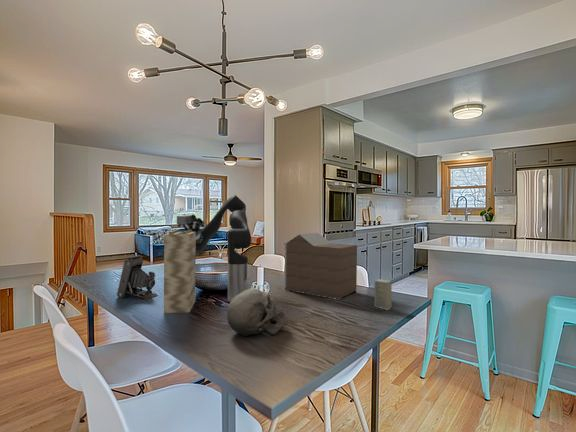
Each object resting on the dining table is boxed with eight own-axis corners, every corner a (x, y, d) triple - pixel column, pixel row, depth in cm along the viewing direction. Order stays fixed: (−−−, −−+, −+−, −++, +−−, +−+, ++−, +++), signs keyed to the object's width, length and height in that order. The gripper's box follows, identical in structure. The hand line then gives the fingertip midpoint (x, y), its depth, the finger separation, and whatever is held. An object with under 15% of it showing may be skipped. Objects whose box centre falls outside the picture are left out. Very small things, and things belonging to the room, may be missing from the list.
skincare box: (391, 308, 138) (392, 280, 138) (387, 311, 135) (387, 282, 135) (378, 305, 142) (378, 278, 142) (373, 307, 139) (374, 280, 139)
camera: (144, 308, 146) (155, 266, 145) (113, 296, 149) (124, 255, 148) (158, 301, 157) (168, 263, 156) (129, 291, 160) (139, 253, 159)
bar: (194, 221, 163) (194, 214, 162) (185, 224, 137) (185, 216, 137) (187, 221, 162) (187, 214, 162) (176, 224, 136) (176, 216, 136)
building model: (301, 283, 186) (302, 231, 185) (356, 292, 166) (357, 234, 165) (282, 289, 170) (283, 233, 170) (339, 300, 150) (340, 237, 150)
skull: (297, 322, 106) (255, 283, 102) (263, 361, 103) (219, 322, 99) (286, 310, 119) (248, 275, 115) (256, 344, 116) (216, 310, 112)
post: (195, 301, 146) (195, 229, 145) (189, 312, 130) (190, 231, 129) (172, 301, 144) (172, 229, 144) (163, 313, 128) (164, 231, 128)
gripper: (180, 224, 172) (174, 209, 157) (207, 224, 174) (203, 209, 159) (178, 237, 168) (172, 222, 153) (206, 237, 170) (202, 222, 155)
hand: (188, 215), depth 156 cm, fingers closed on bar, 3 cm apart
